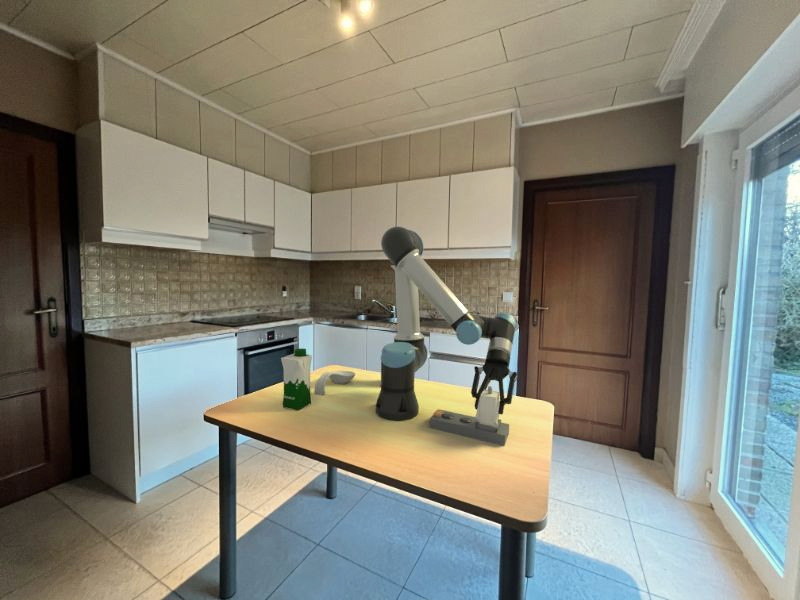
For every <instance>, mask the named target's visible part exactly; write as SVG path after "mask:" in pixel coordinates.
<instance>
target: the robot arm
mask: <svg viewBox="0 0 800 600" xmlns="http://www.w3.org/2000/svg"><path fill="white" fill-rule="evenodd" d="M380 241H381V243H380V246H381V250H382V252H383V254H384V255H385V256H386V258H387V259H388V260H389V261H390V267H391V268H392V269H393V270H394V274H395V275H394V276H395V277H394V279H395V298H396V299H395V301H396V302H395V304H396V323H397V324H396V325H397V327H396V328H397V333H396V334H395V335H394V336H393V342H390V343H388V344H386V345H384V346H383V347H382V350H381V354H380V390H379V393H378V397H377V400H376V402H375V410H374V411H375V414H376V415H377V416H379V417H380V418H382V419H385V420H390V421H406V420H410V419H412V418H415V417H416V416H418V415H419V410H420V409H419V408H420V407H419V402H418V399H417V395H416V392H415V373H416V372H417V371H419V369H421V368H422V367H423V366H424V365H425V363H426V361H427V359H428V348H427V346H426V344H425V336H424V334H422V333H421V329H420V327H421V326H420V325H421V324H420V299H419V295H420V294H419V291H420V292H421V293H422V295H423V296H424V297H425V298H426V299H427V301H429V303H430V304H431V305H432V306H433V308H435V310H436V311H437V312H438V313H439V314H440V315H441V317H443V319H444V320H445V322H446V323H448V325H449V326H450V328H452V330H453V331H454V332H455V334H456V339H457V340H458V341H459V342H460V343H461V344H463V345H468V346H471V345H474V344H476V343H477V342H479V341H480V339H481V338H483V339H488V340H489V343H488V348H487V352H486V357H485V362H484V364H483V365H482V366H476V365H475V366H474V376H473V382H472V385H471V391H470V395H471V397H472V398H473V399H475V401H474V406H473V407H474V409H475V410H476V414H475V416H474V417H475V418H476V421H477V422H479V420H480V396H481V393H482V392H483V391H484V390H487V389H488V386H489V384H490V383H491V381H495V382H498V390H499V391H498V392H499V401H497V405H496V411H495V416H494V425H495V426H497V424H498V419H499V415H501V416H502V415H503V414H504V409H505V405H511V404H512V400H513V396H514V395H513V394H514V390H515V382H516V381H517V379H518V373H517V371H511V370H510V363H511V356H512V350H513V344H514V337H515V333H516V332H515V331H516V322H517V321H516V318H515V317H514V316H513V315H512V314H511V313H507V312H502V313H501V312H499V313H497V314H495V316H494V317H488V316H482V315H478V314H473V313H471V312H469V310H468V309H467V308H466V307H465V306H464V304H463V303H462V302H461V301H460V300H459V298H457V297H456V295H455V294H454V293H453V292H452V291H451V290H450V288H449V287H448V285H446V284H445V282H443V280H442V279H441V278H440V276H439V275H438V274H436V272H435V271H434V270H433V269H432V268H431V267H430V266H429V264H428V263H427V262H426V261H425V260H424V259H423V258H422V255H423V253H424V247H425V246H424V245H425V244H424V242H423V240H422V238H421V236H420V235H419V234H418V233H416V231H413V230H410V229H408V228H405V227H403V226H393V227H390V228H389V229H387V230H386V231H385V232H384V233H383V235H382V237H381V240H380ZM483 372H484V374H485V375H484V378H483V381H482V383H481V385H480V386H479V383H480V378H481V374H482V373H483ZM507 377H509V382H508V388H507V394H506V397H505V391H504V390H505V389H504V381H503V380H504V379H505V378H507Z"/></svg>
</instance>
